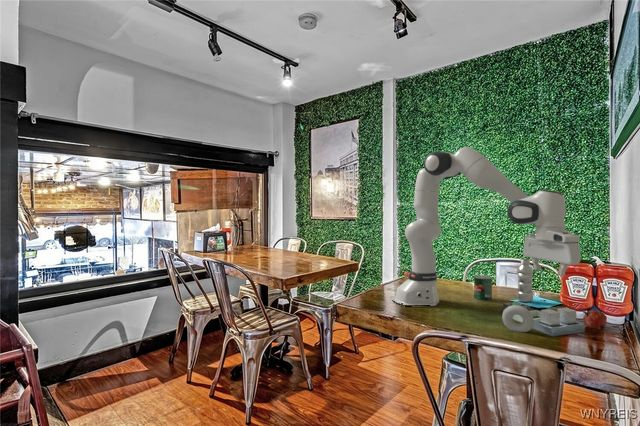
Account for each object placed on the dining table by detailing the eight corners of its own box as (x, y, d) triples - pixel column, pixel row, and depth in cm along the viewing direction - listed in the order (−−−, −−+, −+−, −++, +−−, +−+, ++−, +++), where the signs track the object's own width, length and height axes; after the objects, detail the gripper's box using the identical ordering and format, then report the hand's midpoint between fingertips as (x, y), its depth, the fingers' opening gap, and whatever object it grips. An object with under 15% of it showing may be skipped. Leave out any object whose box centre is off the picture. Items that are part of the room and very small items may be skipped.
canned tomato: (471, 299, 167) (471, 276, 167) (478, 296, 172) (478, 274, 172) (487, 302, 161) (488, 279, 161) (494, 299, 166) (494, 276, 166)
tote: (529, 328, 128) (529, 320, 127) (511, 320, 136) (511, 312, 136) (556, 324, 131) (556, 316, 131) (536, 317, 139) (536, 310, 139)
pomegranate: (599, 332, 129) (574, 313, 132) (615, 320, 126) (589, 301, 129) (603, 341, 123) (576, 321, 126) (620, 328, 120) (592, 308, 123)
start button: (516, 312, 142) (516, 304, 141) (510, 309, 145) (510, 302, 145) (522, 311, 142) (522, 304, 142) (516, 309, 145) (516, 302, 145)
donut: (501, 331, 125) (501, 304, 125) (502, 328, 128) (502, 301, 127) (533, 337, 119) (533, 308, 119) (534, 334, 122) (534, 306, 121)
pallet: (552, 338, 117) (552, 328, 117) (532, 330, 125) (532, 321, 125) (585, 334, 121) (585, 324, 121) (563, 326, 129) (564, 317, 129)
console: (516, 317, 139) (516, 308, 139) (503, 312, 146) (503, 303, 146) (530, 316, 141) (530, 306, 141) (516, 311, 148) (516, 301, 148)
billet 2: (567, 331, 122) (567, 311, 122) (556, 327, 126) (557, 308, 125) (576, 330, 123) (576, 310, 123) (565, 326, 127) (565, 307, 126)
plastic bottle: (535, 303, 158) (536, 261, 158) (519, 303, 160) (519, 260, 159) (529, 300, 164) (530, 258, 164) (514, 299, 166) (514, 258, 165)
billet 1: (559, 332, 121) (559, 312, 121) (550, 333, 120) (550, 313, 120) (549, 328, 125) (549, 309, 125) (540, 329, 124) (540, 310, 124)
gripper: (519, 232, 132) (518, 267, 133) (569, 237, 112) (568, 279, 113) (532, 232, 134) (531, 267, 134) (584, 237, 114) (583, 278, 115)
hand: (549, 272), depth 123 cm, fingers open, 8 cm apart
